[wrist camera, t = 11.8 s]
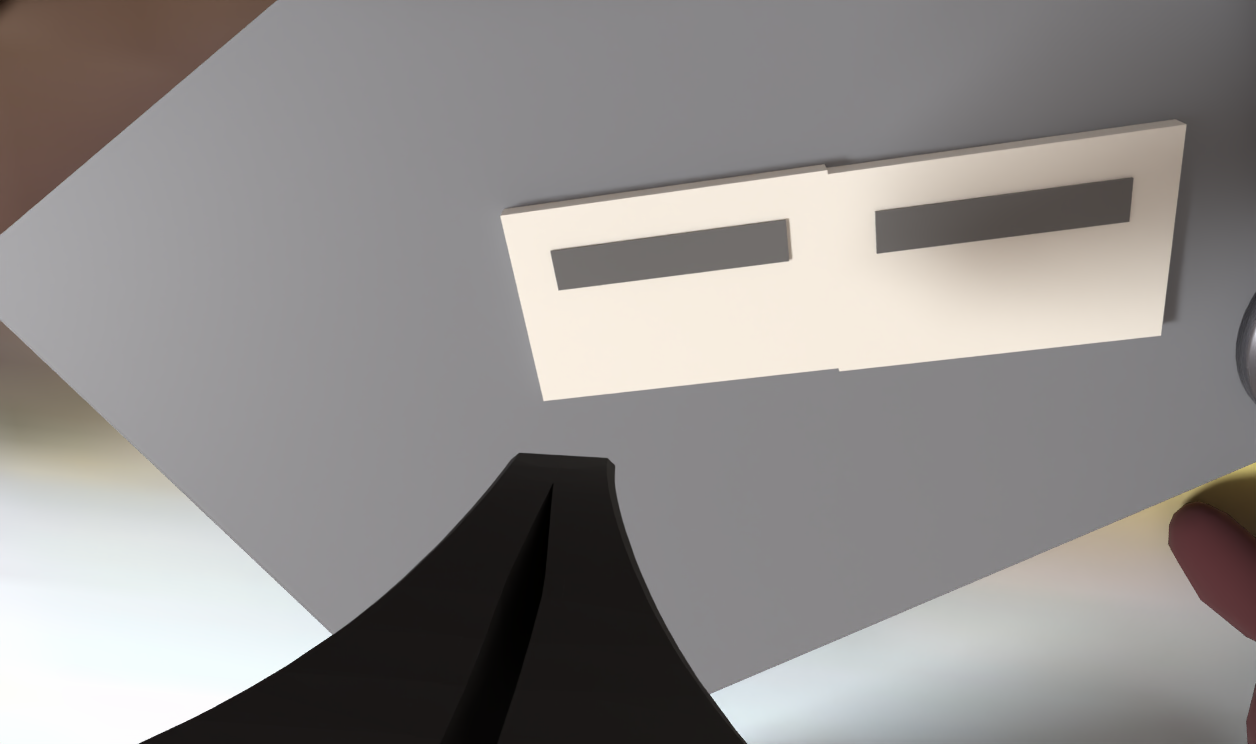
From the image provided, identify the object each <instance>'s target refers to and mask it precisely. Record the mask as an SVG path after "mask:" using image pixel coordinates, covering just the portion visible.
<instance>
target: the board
mask: <svg viewBox="0 0 1256 744" xmlns="http://www.w3.org/2000/svg"><path fill="white" fill-rule="evenodd" d="M1173 119H1176V120H1178V121H1181V122H1183V123H1185V124H1187V125H1186V133H1185V142H1184V150H1183V158H1182V166H1181V175H1180V183H1179V191H1178V199H1177V208H1176V216H1175V224H1174V232H1173V240H1172V249H1171V257H1170V265H1169V273H1168V282H1167V290H1166V298H1165V306H1164V315H1163V323H1162V331H1161V336H1153V337H1144V338H1135V339H1126V340H1117V341H1108V342H1099V343H1090V344H1081V345H1072V346H1063V347H1054V348H1045V349H1036V350H1027V351H1018V352H1010V353H1001V354H992V355H983V356H974V357H965V358H956V359H947V360H938V361H929V362H920V363H911V364H902V365H893V366H884V367H875V368H866V369H857V370H848V371H839V369H838V368H836V369H827V370H818V371H809V372H800V373H791V374H782V375H773V376H764V377H755V378H746V379H737V380H728V381H719V382H710V383H702V384H693V385H684V386H675V387H666V388H657V389H648V390H639V391H630V392H621V393H612V394H603V395H594V396H585V397H576V398H567V399H558V400H549V401H543V396H542V392H541V388H540V383H539V379H538V375H537V371H536V366H535V362H534V358H533V354H532V349H531V345H530V341H529V337H528V332H527V328H526V324H525V320H524V315H523V311H522V307H521V302H520V298H519V294H518V290H517V285H516V281H515V277H514V273H513V268H512V264H511V260H510V256H509V251H508V247H507V243H506V239H505V234H504V230H503V226H502V221H501V217H500V215H501V214H502V212H503V210H504V209H508V208H515V207H523V206H530V205H537V204H544V203H551V202H558V201H565V200H572V199H580V198H587V197H594V196H601V195H608V194H615V193H622V192H629V191H637V190H644V189H651V188H658V187H665V186H672V185H679V184H686V183H694V182H701V181H708V180H715V179H722V178H729V177H736V176H743V175H751V174H758V173H765V172H772V171H779V170H786V169H793V168H800V167H808V166H815V165H822V164H825V166H826V168H829V167H836V166H844V165H851V164H858V163H865V162H872V161H879V160H886V159H894V158H901V157H908V156H915V155H922V154H929V153H937V152H944V151H951V150H958V149H965V148H972V147H979V146H987V145H994V144H1001V143H1008V142H1015V141H1022V140H1030V139H1037V138H1044V137H1051V136H1058V135H1065V134H1072V133H1080V132H1087V131H1094V130H1101V129H1108V128H1115V127H1123V126H1130V125H1137V124H1144V123H1151V122H1158V121H1165V120H1173ZM1255 293H1256V0H277V1H276V2H275V3H273V4H272V5H271V6H270V7H269V8H267V9H266V10H265V11H264V12H263V13H262V14H260V15H259V16H258V17H257V18H256V19H255V20H253V21H252V22H251V23H250V24H249V25H247V26H246V27H245V28H244V29H243V30H242V31H240V32H239V33H238V34H237V35H236V36H234V37H233V38H232V39H231V40H230V41H229V42H227V43H226V44H225V45H224V46H223V47H222V48H220V49H219V50H218V51H217V52H216V53H214V54H213V55H212V56H211V57H210V58H209V59H207V60H206V61H205V62H204V63H203V64H201V65H200V66H199V67H198V68H197V69H196V70H194V71H193V72H192V73H191V74H190V75H188V76H187V77H186V78H185V79H184V80H183V81H181V82H180V83H179V84H178V85H177V86H176V87H174V88H173V89H172V90H171V91H170V92H168V93H167V94H166V95H165V96H164V97H163V98H161V99H160V100H159V101H158V102H157V103H155V104H154V105H153V106H152V107H151V108H150V109H148V110H147V111H146V112H145V113H144V114H143V115H141V116H140V117H139V118H138V119H137V120H135V121H134V122H133V123H132V124H131V125H130V126H128V127H127V128H126V129H125V130H124V131H122V132H121V133H120V134H119V135H118V136H117V137H115V138H114V139H113V140H112V141H111V142H109V143H108V144H107V145H106V146H105V147H104V148H102V149H101V150H100V151H99V152H98V153H97V154H95V155H94V156H93V157H92V158H91V159H89V160H88V161H87V162H86V163H85V164H84V165H82V166H81V167H80V168H79V169H78V170H76V171H75V172H74V173H73V174H72V175H71V176H69V177H68V178H67V179H66V180H65V181H64V182H62V183H61V184H60V185H59V186H58V187H56V188H55V189H54V190H53V191H52V192H51V193H49V194H48V195H47V196H46V197H45V198H43V199H42V200H41V201H40V202H39V203H38V204H36V205H35V206H34V207H33V208H32V209H31V210H29V211H28V212H27V213H26V214H25V215H23V216H22V217H21V218H20V219H19V220H18V221H16V222H15V223H14V224H13V225H12V226H10V227H9V228H8V229H7V230H6V231H5V232H3V233H2V234H1V235H0V320H1V321H2V322H3V323H4V324H5V325H6V326H7V327H8V328H9V329H10V330H12V331H13V332H14V333H15V334H16V335H17V336H18V337H19V338H20V339H21V340H22V341H23V342H24V343H25V344H26V345H27V346H28V347H29V348H31V349H32V350H33V351H34V352H35V353H36V354H37V355H38V356H39V357H40V358H41V359H42V360H43V361H44V362H45V363H46V364H47V365H49V366H50V367H51V368H52V369H53V370H54V371H55V372H56V373H57V374H58V375H59V376H60V377H61V378H62V379H63V380H64V381H65V382H66V383H68V384H69V385H70V386H71V387H72V388H73V389H74V390H75V391H76V392H77V393H78V394H79V395H80V396H81V397H82V398H83V399H84V400H85V401H87V402H88V403H89V404H90V405H91V406H92V407H93V408H94V409H95V410H96V411H97V412H98V413H99V414H100V415H101V416H102V417H103V418H104V419H106V420H107V421H108V422H109V423H110V424H111V425H112V426H113V427H114V428H115V429H116V430H117V431H118V432H119V433H120V434H121V435H122V436H124V437H125V438H126V439H127V440H128V441H129V442H130V443H131V444H132V445H133V446H134V447H135V448H136V449H137V450H138V451H139V452H140V453H141V454H143V455H144V456H145V457H146V458H147V459H148V460H149V461H150V462H151V463H152V464H153V465H154V466H155V467H156V468H157V469H158V470H159V471H160V472H162V473H163V474H164V475H165V476H166V477H167V478H168V479H169V480H170V481H171V482H172V483H173V484H174V485H175V486H176V487H177V488H178V489H179V490H181V491H182V492H183V493H184V494H185V495H186V496H187V497H188V498H189V499H190V500H191V501H192V502H193V503H194V504H195V505H196V506H197V507H199V508H200V509H201V510H202V511H203V512H204V513H205V514H206V515H207V516H208V517H209V518H210V519H211V520H212V521H213V522H214V523H215V524H216V525H218V526H219V527H220V528H221V529H222V530H223V531H224V532H225V533H226V534H227V535H228V536H229V537H230V538H231V539H232V540H233V541H234V542H235V543H237V544H238V545H239V546H240V547H241V548H242V549H243V550H244V551H245V552H246V553H247V554H248V555H249V556H250V557H251V558H252V559H253V560H254V561H256V562H257V563H258V564H259V565H260V566H261V567H262V568H263V569H264V570H265V571H266V572H267V573H268V574H269V575H270V576H271V577H272V578H274V579H275V580H276V581H277V582H278V583H279V584H280V585H281V586H282V587H283V588H284V589H285V590H286V591H287V592H288V593H289V594H290V595H291V596H293V597H294V598H295V599H296V600H297V601H298V602H299V603H300V604H301V605H302V606H303V607H304V608H305V609H306V610H307V611H308V612H309V613H310V614H312V615H313V616H314V617H315V618H316V619H317V620H318V621H319V622H320V623H321V624H322V625H323V626H324V627H325V628H326V629H327V630H328V631H329V632H331V633H332V634H335V633H336V632H337V631H339V630H340V629H342V628H343V627H344V626H346V625H347V624H348V623H350V622H351V621H352V620H353V619H355V618H356V617H357V616H358V615H360V614H361V613H362V612H364V611H365V610H366V609H367V608H369V607H370V606H371V605H372V604H374V603H375V602H376V601H377V600H378V599H380V598H381V597H382V596H383V595H384V594H385V593H387V592H388V591H389V590H390V589H391V588H392V587H393V586H395V585H396V584H397V583H398V582H399V581H400V580H401V579H402V578H404V577H405V576H406V575H407V574H408V573H409V572H410V571H411V570H412V569H413V568H414V567H415V566H416V565H417V564H418V563H419V562H420V561H421V560H422V559H423V558H424V557H425V556H426V555H428V554H429V553H430V552H431V551H432V550H433V549H434V548H435V547H436V546H437V545H438V544H439V543H440V542H441V541H442V540H443V539H444V538H445V537H446V535H447V534H448V533H449V532H450V531H451V530H452V529H453V528H454V527H455V526H456V525H457V523H458V522H459V521H460V520H461V519H462V518H463V517H464V516H465V515H466V514H467V513H468V511H469V510H470V509H471V508H472V507H473V506H474V505H475V504H476V502H477V501H478V500H479V499H480V498H481V496H482V495H483V494H484V493H485V492H486V491H487V489H488V488H489V487H490V486H491V485H492V483H493V482H494V481H495V480H496V478H497V477H498V476H499V474H500V473H501V472H502V471H503V469H504V468H505V467H506V465H507V464H508V463H509V461H510V460H511V459H512V458H513V457H515V456H516V455H517V454H518V453H534V454H551V455H568V456H585V457H602V458H608V459H609V460H610V461H611V462H612V463H613V464H614V465H615V487H616V494H617V499H618V504H619V508H620V512H621V516H622V520H623V523H624V526H625V530H626V533H627V536H628V538H629V541H630V544H631V547H632V550H633V553H634V556H635V559H636V561H637V564H638V566H639V569H640V571H641V573H642V576H643V578H644V580H645V583H646V585H647V587H648V589H649V592H650V594H651V596H652V598H653V600H654V602H655V604H656V606H657V609H658V611H659V613H660V615H661V616H662V618H663V620H664V622H665V624H666V626H667V628H668V630H669V631H670V633H671V635H672V637H673V638H674V640H675V642H676V644H677V645H678V647H679V649H680V651H681V652H682V654H683V655H684V657H685V659H686V660H687V662H688V663H689V665H690V667H691V668H692V670H693V671H694V673H695V675H696V676H697V678H698V679H699V681H700V682H701V683H702V685H703V686H704V687H705V689H706V690H707V692H708V693H709V694H711V693H713V692H716V691H718V690H720V689H723V688H725V687H727V686H730V685H732V684H735V683H737V682H739V681H742V680H744V679H746V678H749V677H751V676H753V675H756V674H758V673H760V672H763V671H765V670H767V669H770V668H772V667H775V666H777V665H779V664H782V663H784V662H786V661H789V660H791V659H793V658H796V657H798V656H800V655H803V654H805V653H808V652H810V651H812V650H815V649H817V648H819V647H822V646H824V645H826V644H829V643H831V642H833V641H836V640H838V639H840V638H843V637H845V636H848V635H850V634H852V633H855V632H857V631H859V630H862V629H864V628H866V627H869V626H871V625H873V624H876V623H878V622H880V621H883V620H885V619H888V618H890V617H892V616H895V615H897V614H899V613H902V612H904V611H906V610H909V609H911V608H913V607H916V606H918V605H920V604H923V603H925V602H928V601H930V600H932V599H935V598H937V597H939V596H942V595H944V594H946V593H949V592H951V591H953V590H956V589H958V588H960V587H963V586H965V585H968V584H970V583H972V582H975V581H977V580H979V579H982V578H984V577H986V576H989V575H991V574H993V573H996V572H998V571H1001V570H1003V569H1005V568H1008V567H1010V566H1012V565H1015V564H1017V563H1019V562H1022V561H1024V560H1026V559H1029V558H1031V557H1033V556H1036V555H1038V554H1041V553H1043V552H1045V551H1048V550H1050V549H1052V548H1055V547H1057V546H1059V545H1062V544H1064V543H1066V542H1069V541H1071V540H1073V539H1076V538H1078V537H1081V536H1083V535H1085V534H1088V533H1090V532H1092V531H1095V530H1097V529H1099V528H1102V527H1104V526H1106V525H1109V524H1111V523H1113V522H1116V521H1118V520H1121V519H1123V518H1125V517H1128V516H1130V515H1132V514H1135V513H1137V512H1139V511H1142V510H1144V509H1146V508H1149V507H1151V506H1153V505H1156V504H1158V503H1161V502H1163V501H1165V500H1168V499H1170V498H1172V497H1175V496H1177V495H1179V494H1182V493H1184V492H1186V491H1189V490H1191V489H1194V488H1196V487H1198V486H1201V485H1203V484H1205V483H1208V482H1210V481H1212V480H1215V479H1217V478H1219V477H1222V476H1224V475H1226V474H1229V473H1231V472H1234V471H1236V470H1238V469H1241V468H1243V467H1245V466H1248V465H1250V464H1252V463H1255V462H1256V404H1255V403H1254V402H1253V401H1252V399H1251V398H1250V397H1249V396H1248V394H1247V393H1246V391H1245V389H1244V387H1243V385H1242V383H1241V381H1240V377H1239V374H1238V371H1237V365H1236V341H1237V336H1238V330H1239V327H1240V324H1241V321H1242V318H1243V315H1244V313H1245V311H1246V309H1247V307H1248V305H1249V303H1250V301H1251V299H1252V297H1253V296H1254V294H1255Z"/></svg>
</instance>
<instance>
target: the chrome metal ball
mask: <svg viewBox="0 0 1256 744" xmlns="http://www.w3.org/2000/svg"><path fill="white" fill-rule="evenodd" d="M1236 365H1237V371H1238V374H1239V377H1240V381H1241V383H1242V385H1243V387H1244V389H1245V391H1246V393H1247V394H1248V396H1249V397H1250V398H1251V399H1252V401H1253V402H1254V403H1255V404H1256V293H1255V294H1254V296H1253V297H1252V299H1251V301H1250V303H1249V305H1248V307H1247V309H1246V311H1245V313H1244V315H1243V318H1242V321H1241V324H1240V327H1239V330H1238V336H1237V341H1236Z"/></svg>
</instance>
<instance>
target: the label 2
mask: <svg viewBox="0 0 1256 744" xmlns="http://www.w3.org/2000/svg"><path fill="white" fill-rule="evenodd" d="M1186 125H1187V124H1185V123H1183V122H1181V121H1178V120H1176V119H1173V120H1165V121H1158V122H1151V123H1144V124H1137V125H1130V126H1123V127H1115V128H1108V129H1101V130H1094V131H1087V132H1080V133H1072V134H1065V135H1058V136H1051V137H1044V138H1037V139H1030V140H1022V141H1015V142H1008V143H1001V144H994V145H987V146H979V147H972V148H965V149H958V150H951V151H944V152H937V153H929V154H922V155H915V156H908V157H901V158H894V159H886V160H879V161H872V162H865V163H858V164H851V165H844V166H836V167H829V168H827V171H828V188H829V204H830V221H831V237H832V254H833V270H834V287H835V303H836V320H837V336H838V353H839V368H838V369H839V371H848V370H857V369H866V368H875V367H884V366H893V365H902V364H911V363H920V362H929V361H938V360H947V359H956V358H965V357H974V356H983V355H992V354H1001V353H1010V352H1018V351H1027V350H1036V349H1045V348H1054V347H1063V346H1072V345H1081V344H1090V343H1099V342H1108V341H1117V340H1126V339H1135V338H1144V337H1153V336H1161V331H1162V323H1163V315H1164V306H1165V298H1166V290H1167V282H1168V273H1169V265H1170V257H1171V249H1172V240H1173V232H1174V224H1175V216H1176V208H1177V199H1178V191H1179V183H1180V175H1181V166H1182V158H1183V150H1184V142H1185V133H1186Z"/></svg>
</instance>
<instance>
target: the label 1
mask: <svg viewBox="0 0 1256 744" xmlns="http://www.w3.org/2000/svg"><path fill="white" fill-rule="evenodd" d="M500 217H501V221H502V226H503V230H504V234H505V239H506V243H507V247H508V251H509V256H510V260H511V264H512V268H513V273H514V277H515V281H516V285H517V290H518V294H519V298H520V302H521V307H522V311H523V315H524V320H525V324H526V328H527V332H528V337H529V341H530V345H531V349H532V354H533V358H534V362H535V366H536V371H537V375H538V379H539V383H540V388H541V392H542V396H543V401H549V400H558V399H567V398H576V397H585V396H594V395H603V394H612V393H621V392H630V391H639V390H648V389H657V388H666V387H675V386H684V385H693V384H702V383H710V382H719V381H728V380H737V379H746V378H755V377H764V376H773V375H782V374H791V373H800V372H809V371H818V370H827V369H836V368H839V353H838V336H837V320H836V303H835V287H834V270H833V254H832V237H831V221H830V204H829V188H828V171H827V168H826V166H825V164H822V165H815V166H808V167H800V168H793V169H786V170H779V171H772V172H765V173H758V174H751V175H743V176H736V177H729V178H722V179H715V180H708V181H701V182H694V183H686V184H679V185H672V186H665V187H658V188H651V189H644V190H637V191H629V192H622V193H615V194H608V195H601V196H594V197H587V198H580V199H572V200H565V201H558V202H551V203H544V204H537V205H530V206H523V207H515V208H508V209H504V210H503V212H502V214H501V215H500Z"/></svg>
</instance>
